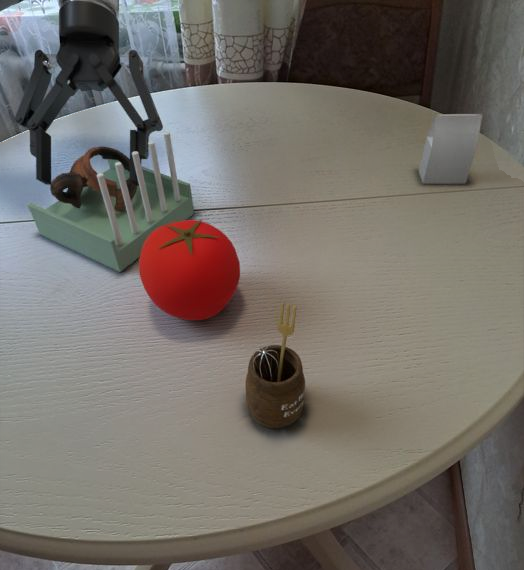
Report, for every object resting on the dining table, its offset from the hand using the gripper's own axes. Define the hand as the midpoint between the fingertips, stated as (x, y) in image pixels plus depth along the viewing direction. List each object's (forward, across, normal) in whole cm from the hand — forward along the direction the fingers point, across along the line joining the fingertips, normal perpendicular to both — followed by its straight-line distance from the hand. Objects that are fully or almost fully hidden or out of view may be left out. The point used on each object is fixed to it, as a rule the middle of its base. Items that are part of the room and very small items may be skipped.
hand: (89, 182), depth 67 cm
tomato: (+16, -16, +5) cm, 23 cm away
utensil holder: (+27, -26, +16) cm, 41 cm away
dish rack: (+4, -2, -6) cm, 8 cm away
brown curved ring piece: (+2, +1, -5) cm, 5 cm away
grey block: (-6, -51, -16) cm, 54 cm away
